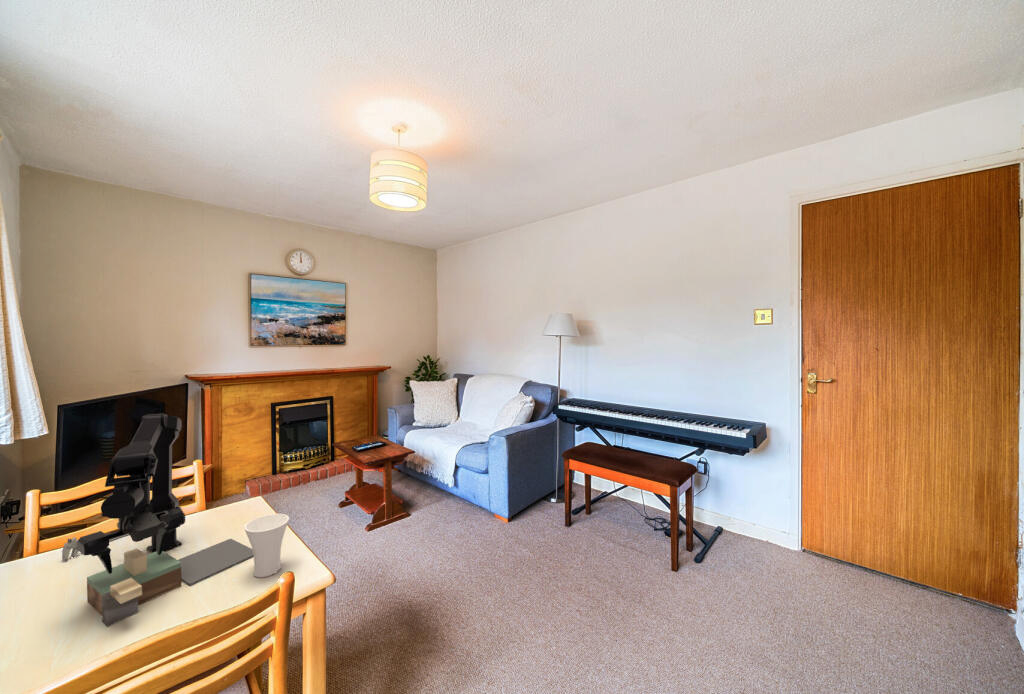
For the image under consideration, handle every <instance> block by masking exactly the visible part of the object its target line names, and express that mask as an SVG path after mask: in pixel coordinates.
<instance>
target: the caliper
mask: <svg viewBox="0 0 1024 694" xmlns="http://www.w3.org/2000/svg"><path fill="white" fill-rule="evenodd" d="M109 533H110V532H108V533H107V534H109ZM78 540H79V539H77V537H76V536H75V537H74V536H73V537H72V538H67V542H66V543H64V545H63V547H62V550H61V552H62V553H61V554H62V555H61V560H62V561H63V562H68V561H67V560H69V558H71V557H73V558H74V557H77V556H78V554H79V551H78V550H77V541H78ZM69 555H70V556H69ZM74 559H75V558H74Z"/></svg>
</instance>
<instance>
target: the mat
mask: <svg viewBox="0 0 1024 694" xmlns="http://www.w3.org/2000/svg"><path fill="white" fill-rule="evenodd" d="M252 558H254V554H253V550H252V547H249V546H247V545H244V544H243V543H241V542H239V541H237V540H234V539H233V538H229V539H226V540H222V541H221V542H219V543H217V544H214V545H211V546H209V547H206V548H204V549H202V550H201V549H200V550H199V551H196V552H193V553H191V554H189V555H186V556H184V557H181V558H178V559H177V560H178V561H180V562H181V581H182V582H183V583H184V584H186V585H187V586H188V587H191V586H194V585H196V584H198V583H200V582H203V581H204V580H207V579H209V578H211V577H213V576H215V575H218V574H221V573H222V572H224V571H226V570H229V569H231V568H232V567H235V566H237V565H240V564H242V563H243V562H246V561H248V560H250V559H252Z"/></svg>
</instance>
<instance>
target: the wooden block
mask: <svg viewBox="0 0 1024 694" xmlns="http://www.w3.org/2000/svg"><path fill="white" fill-rule="evenodd" d="M110 595H111V596H112V597H113V598H115V599H116V600H117V601H118V602H119V603H120V604H122V603H124V602H126V601H129V600H131V599H133V598H136V597H138V596H140V595H142V586H141V585H140V584H139V583H137V582H136V581H135V580H133V579H132V578H129V579H127V580H124V581H122V582H119V583H117V584H114V585H112V586H110Z"/></svg>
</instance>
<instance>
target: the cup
mask: <svg viewBox="0 0 1024 694" xmlns="http://www.w3.org/2000/svg"><path fill="white" fill-rule="evenodd" d="M289 520H290V517H289V515H287V514H283V513H270V514H265V515H261V516H257V517H256V518H252V519H251V520H249V521H248V522H246V523H245V525H244V527H243V528H244V531H245V534H246V536H247V538H248V542H249V543H250V547H251V549H252V550H253V554H254V557H253V563H254V565H253V573H252V574H253V576H254V577H255V578H266V577H270V576H273V575H275V574H276V573H278V572H279V571H280V570H281V569H282V562H281V550H282V545H283V539H284V535H285V532H286V530H287V529H286V528H287V526H288V523H289ZM280 568H281V569H280ZM279 569H280V570H279ZM278 570H279V571H278ZM277 571H278V572H277ZM275 572H276V573H275ZM274 573H275V574H274ZM272 574H273V575H272Z"/></svg>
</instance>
